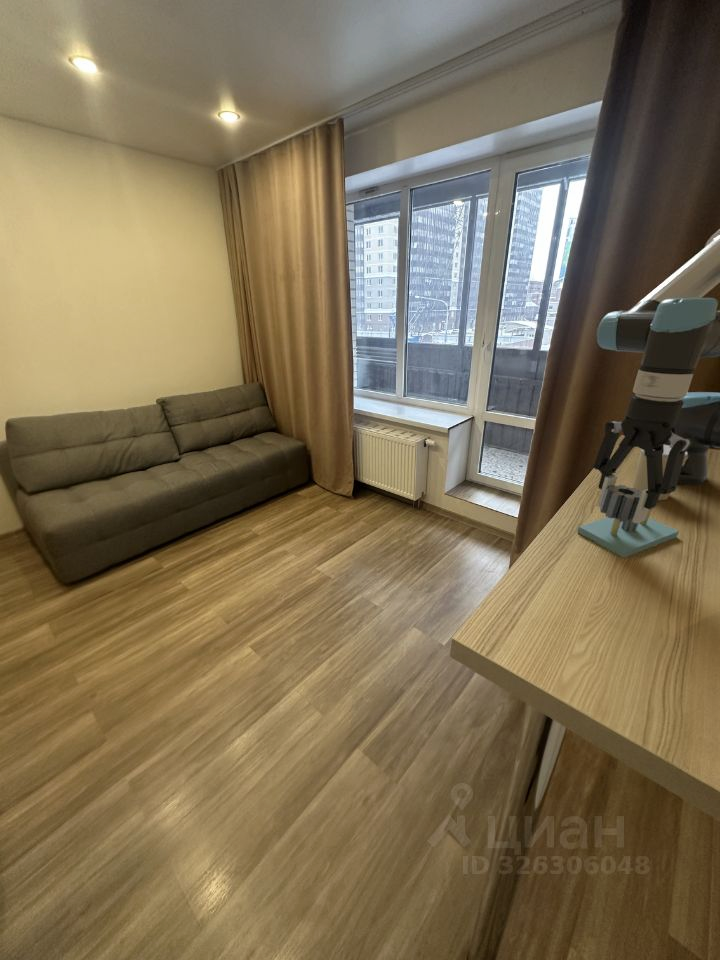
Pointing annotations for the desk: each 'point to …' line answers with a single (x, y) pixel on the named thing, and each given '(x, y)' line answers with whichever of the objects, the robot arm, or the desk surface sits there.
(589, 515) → the desk surface
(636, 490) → the gear
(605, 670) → the desk surface
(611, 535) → the carrier
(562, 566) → the desk surface
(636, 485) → the coffee cup
